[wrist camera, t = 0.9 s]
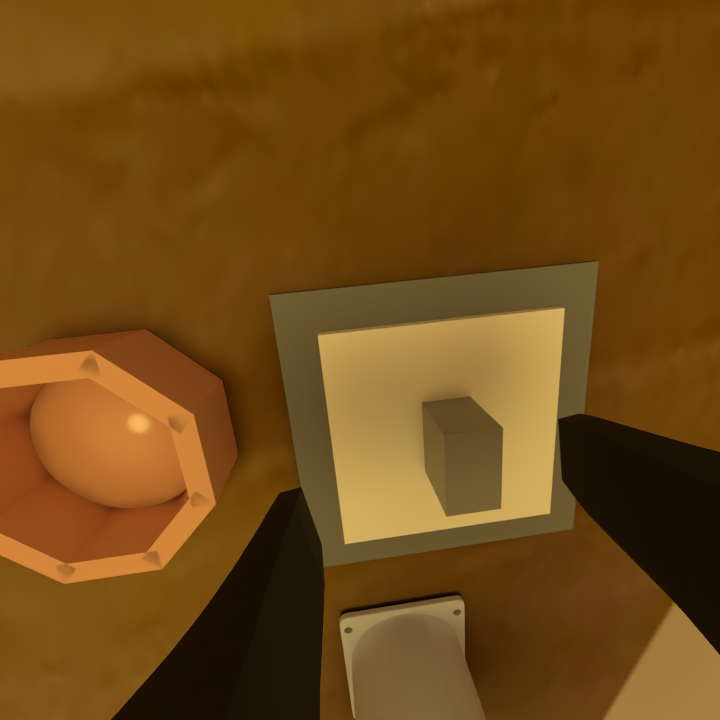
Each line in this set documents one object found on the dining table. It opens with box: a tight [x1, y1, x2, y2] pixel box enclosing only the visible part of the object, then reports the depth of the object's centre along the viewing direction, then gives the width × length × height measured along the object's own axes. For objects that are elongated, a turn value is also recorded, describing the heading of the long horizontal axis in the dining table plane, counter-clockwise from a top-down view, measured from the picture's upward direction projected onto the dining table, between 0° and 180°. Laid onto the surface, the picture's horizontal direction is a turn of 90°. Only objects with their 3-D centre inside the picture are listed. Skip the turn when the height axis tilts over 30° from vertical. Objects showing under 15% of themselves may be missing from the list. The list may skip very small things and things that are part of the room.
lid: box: [318, 307, 565, 544], centre depth 17 cm, size 12×12×4 cm
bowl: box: [0, 329, 239, 584], centre depth 16 cm, size 10×10×4 cm
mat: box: [269, 261, 599, 567], centre depth 19 cm, size 16×16×1 cm
